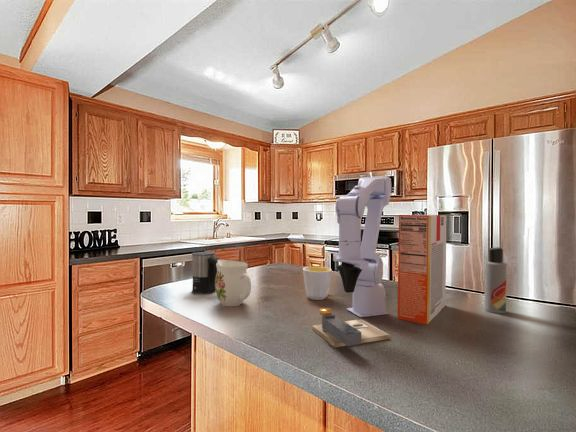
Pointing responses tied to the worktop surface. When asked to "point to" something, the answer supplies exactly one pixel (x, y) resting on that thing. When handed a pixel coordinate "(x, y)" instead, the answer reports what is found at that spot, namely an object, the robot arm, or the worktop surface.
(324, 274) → the mug
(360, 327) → the tan piece
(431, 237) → the cereal box
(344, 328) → the swing bar
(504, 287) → the lotion bottle
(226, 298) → the pitcher
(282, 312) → the worktop surface
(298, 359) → the worktop surface
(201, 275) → the milk frother
